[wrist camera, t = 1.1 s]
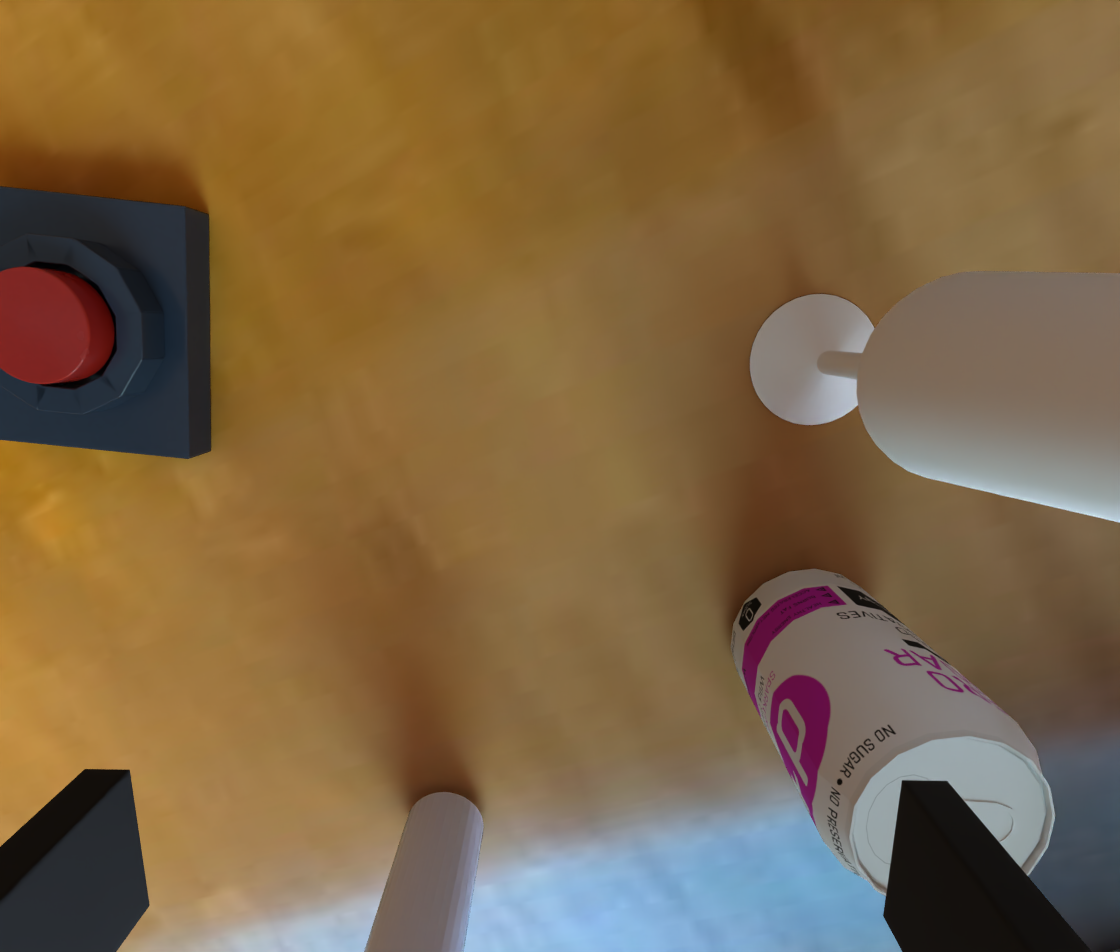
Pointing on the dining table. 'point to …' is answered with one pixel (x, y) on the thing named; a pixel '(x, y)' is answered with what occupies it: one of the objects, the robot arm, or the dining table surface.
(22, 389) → the button housing
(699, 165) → the dining table surface
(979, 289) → the champagne flute
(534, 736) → the dining table surface
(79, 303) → the power button
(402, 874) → the perfume bottle
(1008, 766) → the supplement can
